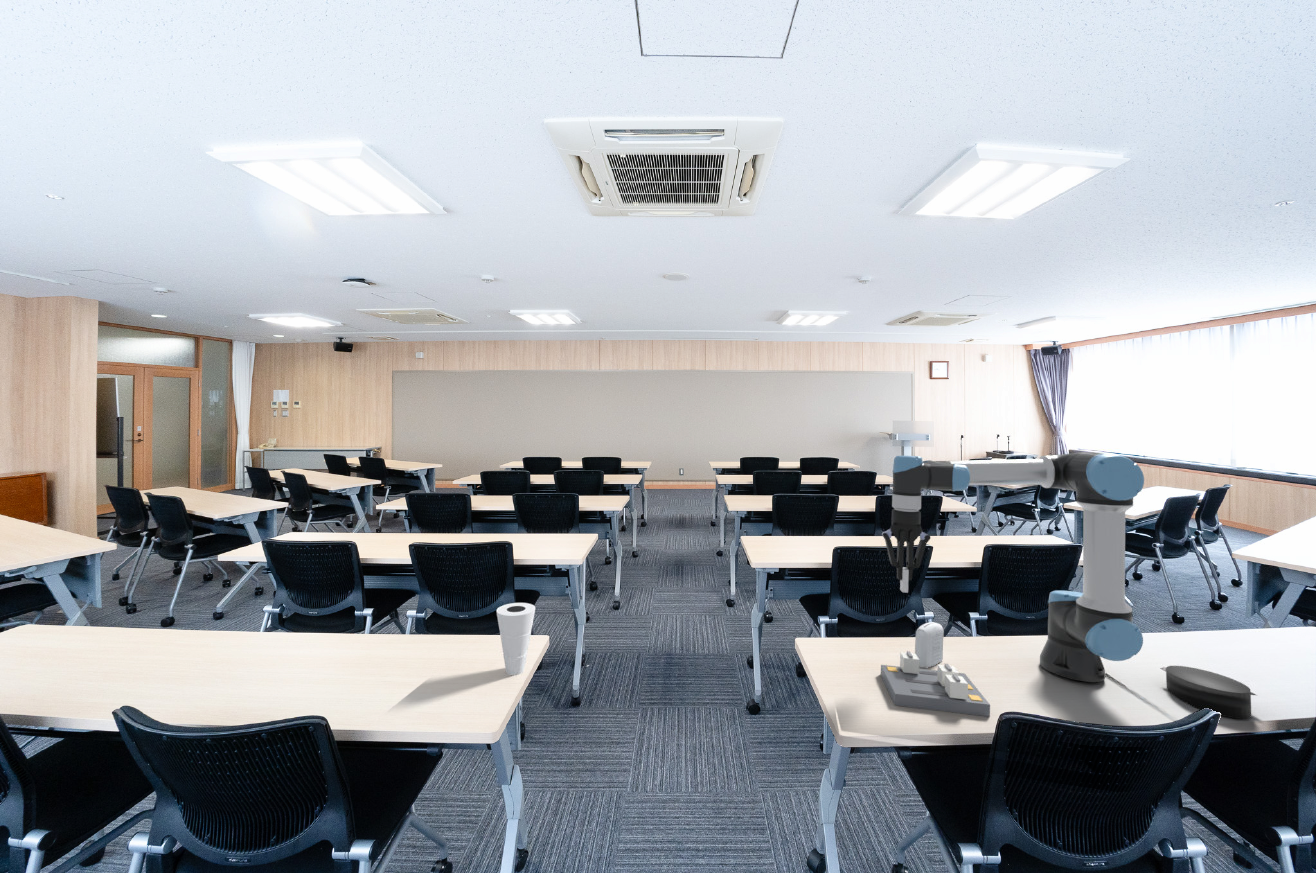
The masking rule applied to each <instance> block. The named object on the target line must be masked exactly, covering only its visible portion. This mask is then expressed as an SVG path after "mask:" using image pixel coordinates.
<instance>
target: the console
mask: <svg viewBox="0 0 1316 873" xmlns="http://www.w3.org/2000/svg"><path fill="white" fill-rule="evenodd" d="M880 676H881V679H882V678H883V679H882V681H883V683H884V686H885V687H886V689H887V692H888V693H889V696H890V697H891V700H892V702H893V705H894V706H896V707H897V706H898V707H907V708H913V709H922V710H931V711H938V712H939V711H941V712H948V713H956V714H965V715H975V716H981V717H982V716H983V717H990V716H991V704H990V703H989V701H988V699H986V697H984V695H983V694H982V693H981V692H980V690H979V689H978V688H977V686H976V685H975V684H974V683H973V682H972V680H971V679H970V678H969V676H967V674H966V673H964V672H959V676H962V677H963V678H964V679H965V681H966V682H967V683H968V698H967V699H958V698H950V697H949V695H948V694H947V692H946V691H945V686H942V685H941V684H940V682H939V681H938V679H937V669H936V670H935V669H928V668H919V674H914V673H905V672H903V671H902V669H901V667H900V666H898V665H897V666H896V665H888V664H880Z"/></svg>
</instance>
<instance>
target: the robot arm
mask: <svg viewBox="0 0 1316 873" xmlns="http://www.w3.org/2000/svg"><path fill="white" fill-rule="evenodd" d="M1019 485H1020V486H1022V485H1023V486H1032V485H1033V486H1035V485H1036V486H1038V485H1039V486H1041V487H1042V488H1044V489H1059V490H1061V489H1062V490H1067V491H1072V492H1076V503H1077V504H1078V505H1079V506H1080V507H1082V509H1083V510H1082V513H1083V516H1082V519H1083V527H1082V528H1083V529H1082V530H1083V533H1082V534H1083V540H1082V541H1083V545H1082V548H1083V550H1082V551H1083V552H1082V554H1083V556H1082V558H1083V559H1082V564H1083V565H1082V566H1083V568H1082V569H1083V570H1082V572H1083V573H1082V574H1083V575H1082V592H1080V591H1073V590H1053V591H1051V592H1049V596H1048V601H1047V603H1048V617H1047V618H1048V619H1047V640H1046V642H1045V643H1044V646H1043V649H1042V650H1041V653H1040V654H1039V665H1040V666H1041V667H1043V668H1044V669H1045V670H1046V671H1048V672H1051V673H1053V674H1055V675H1058V676H1059V677H1063V678H1067V679H1070V680H1075V681H1080V682H1086V683H1088V682H1089V683H1099V682H1103V681H1104V680H1106V679H1105V678H1106V669H1105V666H1104V663H1103V661H1102V659H1105V660H1108V661H1111V662H1121V661H1126V660H1130V659H1131V658H1133V657H1134V656H1137V655H1138V653H1139V652H1140V651H1141V650H1142V648H1143V646H1144V645H1143V644H1144V637H1143V633H1142V632H1141V630H1140V629H1139V627H1138V626H1137V625H1136V624H1135V623H1133V608H1132V607H1131V606H1130V605H1129V604H1128V603H1127V602H1126V599H1125V598H1126V584H1125V583H1126V512H1128V510H1130V509H1131V508H1132V507H1133V506H1134V498H1135V497H1136V496H1138V494H1139V493H1140V492H1142V490H1143V489H1144V485H1145V476H1144V473H1143V470H1142V469H1141V467H1140V466H1139V465H1138V464H1137V463H1136V462H1135V461H1133V460H1132V459H1131V458H1129V457H1127V456H1124V455H1119V454H1115V453H1110V452H1107V453H1103V452H1100V453H1099V452H1090V451H1089V452H1088V451H1087V452H1085V451H1081V452H1080V451H1079V452H1072V453H1065V454H1063V453H1062V454H1054V455H1053V454H1052V455H1041V456H1040V457H1039V458H1034V459H1031V458H1028V459H1025V458H1024V459H984V460H983V459H979V460H978V459H975V460H974V459H973V460H972V459H971V460H969V459H968V460H967V459H966V460H929V459H928V460H923V457H921V456H919V455H918V456H917V455H896V456H895V457H894V459H893V465H892V496H891V498H892V500H891V507H892V508H893V509H891V523H890V526H889V529H887V530H885V531H882V532H881V536H882V537H883V540H884V542H885V546H886V549H887V555H888V559H889V562H890V565H891V566H892V567H894V568H896V578H897V579H898V580H899V583H900V585H899V586H900V587H899V590H900V591H901V592H902V593H907V594H908V593H909V581H912V579H913V570H914V569H919V568H920V567H921V564H922V563H921V562H922V560H923V557H924V553H925V550H926V546H927V543H928V542H929V541H930V540H931V539H932V538H931V535H929V534H927V533H926V532H923V528H922V526H921V522H922V521H921V518H922V514H921V513H922V512H921V511H920V510H921V509H922V491H923V490H924V491H925V490H933V491H935V490H936V491H952V492H956V491H957V492H959V491H962V492H963V491H966V490H967V489H968V488H969V486H1019ZM892 535H893V536H894V538H895V539H896V557H895V552H894V548H893V543H892V540H891V539H892ZM918 538H919V541H918V545H917V549H916V552H915V556H914V547H915V541H916V540H918ZM905 542H906V543H905ZM905 544H906V558H905V557H904V552H905V551H904V549H905ZM904 558H905V559H906V562H905V564H906V565H905V566H906V567H904Z"/></svg>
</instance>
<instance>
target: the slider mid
mask: <svg viewBox="0 0 1316 873" xmlns="http://www.w3.org/2000/svg"><path fill="white" fill-rule="evenodd" d="M936 670H937V679H938V681H939V682H940V684H941V685H942V686H945V675H953V674H956V675H957V676H959V673H960V672H959V671H958V669H957V668H956V667H955V666H954V665H949V663H944V664H937V669H936Z"/></svg>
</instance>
